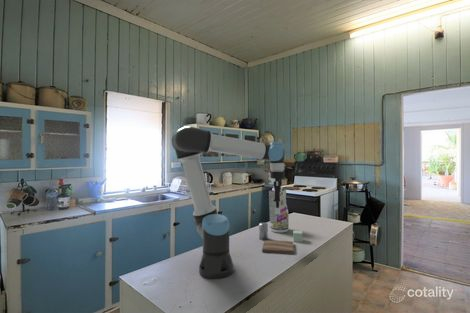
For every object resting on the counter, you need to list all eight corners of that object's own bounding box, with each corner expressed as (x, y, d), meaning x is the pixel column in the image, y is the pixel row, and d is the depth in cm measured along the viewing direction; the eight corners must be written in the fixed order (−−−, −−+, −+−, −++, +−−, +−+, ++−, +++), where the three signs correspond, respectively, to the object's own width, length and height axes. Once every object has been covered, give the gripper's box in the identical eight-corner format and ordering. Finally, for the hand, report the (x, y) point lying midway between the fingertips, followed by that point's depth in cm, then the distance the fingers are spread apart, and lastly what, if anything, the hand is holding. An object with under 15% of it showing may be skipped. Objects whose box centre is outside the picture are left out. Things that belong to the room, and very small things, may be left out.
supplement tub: (280, 234, 160) (279, 207, 160) (266, 230, 170) (265, 204, 169) (292, 230, 168) (292, 205, 168) (278, 226, 177) (278, 202, 177)
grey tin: (267, 240, 150) (267, 225, 150) (258, 239, 151) (258, 224, 151) (267, 237, 155) (267, 222, 155) (259, 237, 156) (259, 222, 156)
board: (293, 254, 129) (293, 251, 129) (262, 252, 132) (262, 249, 132) (292, 244, 143) (292, 241, 143) (264, 242, 146) (264, 240, 146)
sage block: (302, 242, 146) (302, 233, 146) (293, 241, 147) (293, 233, 147) (301, 239, 151) (301, 230, 151) (293, 238, 152) (293, 230, 152)
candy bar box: (278, 217, 143) (278, 188, 143) (286, 218, 140) (286, 188, 140) (268, 221, 134) (268, 190, 134) (277, 223, 131) (276, 191, 131)
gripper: (284, 172, 124) (285, 216, 125) (284, 169, 148) (284, 206, 148) (269, 172, 126) (269, 216, 126) (271, 169, 149) (271, 206, 150)
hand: (277, 211), depth 137 cm, fingers closed on candy bar box, 12 cm apart
